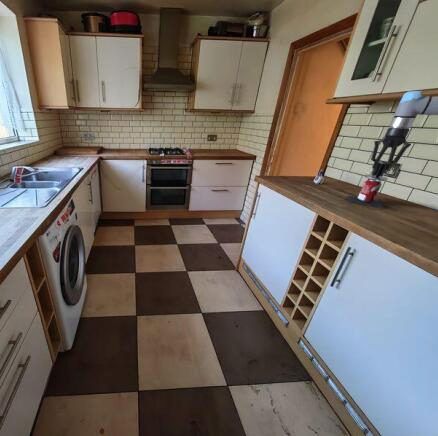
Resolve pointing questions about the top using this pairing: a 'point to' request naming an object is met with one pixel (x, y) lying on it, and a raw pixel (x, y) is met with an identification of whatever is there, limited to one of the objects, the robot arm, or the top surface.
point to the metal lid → (377, 173)
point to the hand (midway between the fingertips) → (376, 175)
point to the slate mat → (374, 203)
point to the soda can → (369, 190)
